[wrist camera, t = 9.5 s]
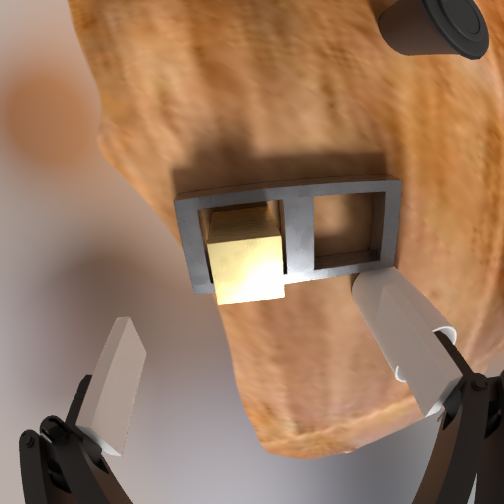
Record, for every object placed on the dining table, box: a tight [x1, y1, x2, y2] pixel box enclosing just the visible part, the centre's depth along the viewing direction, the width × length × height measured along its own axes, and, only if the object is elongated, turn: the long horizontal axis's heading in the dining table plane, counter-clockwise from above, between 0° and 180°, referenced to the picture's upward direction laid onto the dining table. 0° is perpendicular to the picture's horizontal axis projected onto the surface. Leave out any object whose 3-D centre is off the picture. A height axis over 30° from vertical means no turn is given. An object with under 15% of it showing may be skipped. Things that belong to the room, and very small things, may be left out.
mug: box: [352, 266, 457, 382], centre depth 25 cm, size 10×7×12 cm, turn 22°
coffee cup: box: [379, 0, 489, 60], centre depth 13 cm, size 8×8×10 cm
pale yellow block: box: [207, 206, 284, 305], centre depth 23 cm, size 5×5×7 cm
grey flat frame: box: [174, 175, 402, 295], centre depth 25 cm, size 9×20×2 cm, turn 96°
